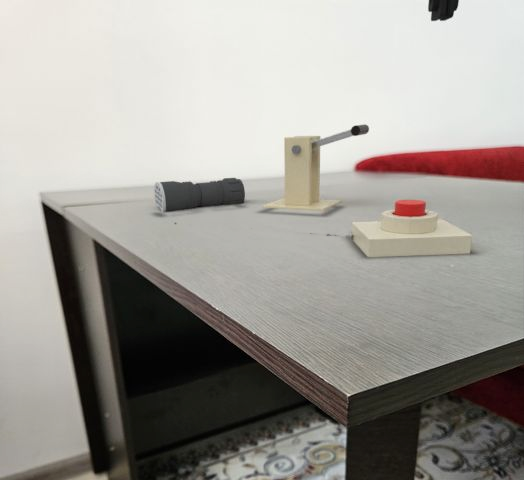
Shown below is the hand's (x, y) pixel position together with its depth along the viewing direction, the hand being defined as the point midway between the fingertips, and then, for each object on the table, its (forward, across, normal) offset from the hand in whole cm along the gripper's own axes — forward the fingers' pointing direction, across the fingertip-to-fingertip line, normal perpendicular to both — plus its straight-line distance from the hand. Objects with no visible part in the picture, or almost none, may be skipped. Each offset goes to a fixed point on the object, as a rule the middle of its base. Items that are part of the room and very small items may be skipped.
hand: (441, 18), depth 61 cm
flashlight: (+25, -32, +24) cm, 47 cm away
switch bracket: (+25, -14, +21) cm, 36 cm away
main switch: (+15, -10, +19) cm, 26 cm away
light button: (+21, -4, -7) cm, 23 cm away
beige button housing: (+25, -4, -7) cm, 26 cm away
